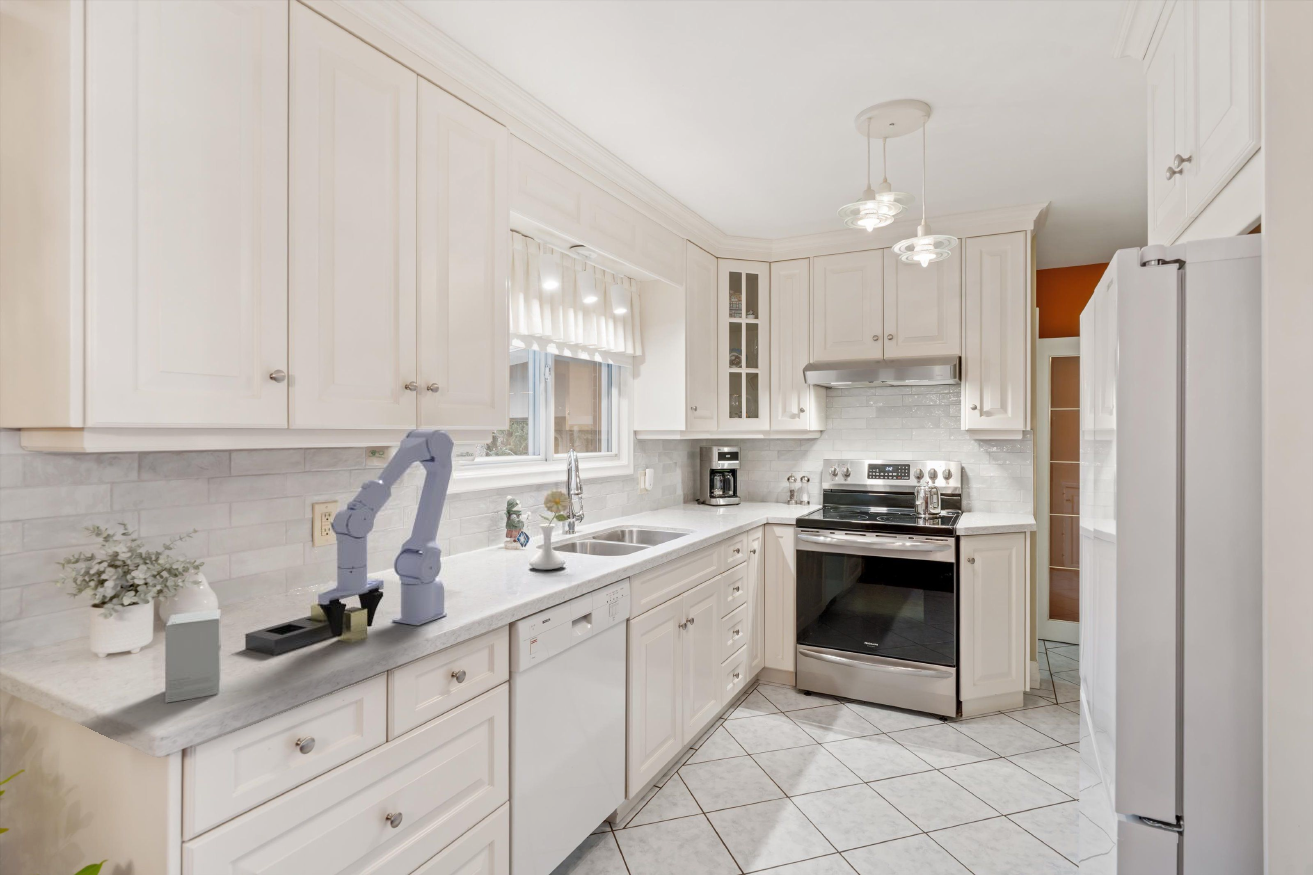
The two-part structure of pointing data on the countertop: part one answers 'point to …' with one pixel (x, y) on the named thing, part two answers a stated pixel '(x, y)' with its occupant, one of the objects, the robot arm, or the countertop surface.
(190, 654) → the supplement box
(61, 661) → the countertop surface
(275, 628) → the rail
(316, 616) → the seated nut
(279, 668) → the countertop surface
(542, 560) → the flower in vase
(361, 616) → the block
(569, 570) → the countertop surface
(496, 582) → the countertop surface
